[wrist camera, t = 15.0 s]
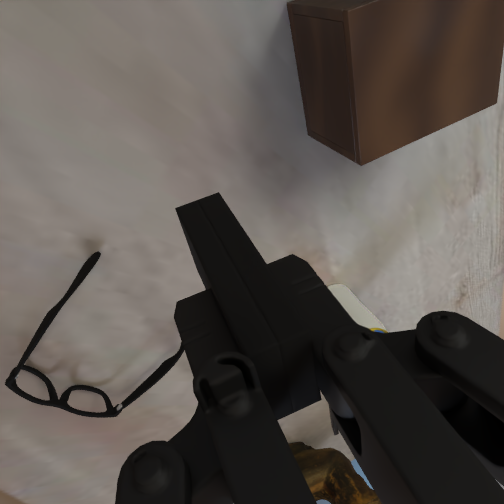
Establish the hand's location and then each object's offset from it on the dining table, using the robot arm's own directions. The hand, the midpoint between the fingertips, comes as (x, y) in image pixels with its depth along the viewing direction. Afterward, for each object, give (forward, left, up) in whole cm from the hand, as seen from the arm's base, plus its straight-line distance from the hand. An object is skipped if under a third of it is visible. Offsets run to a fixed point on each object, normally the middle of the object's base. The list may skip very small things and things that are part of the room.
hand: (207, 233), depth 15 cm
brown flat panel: (-17, +23, -21) cm, 36 cm away
